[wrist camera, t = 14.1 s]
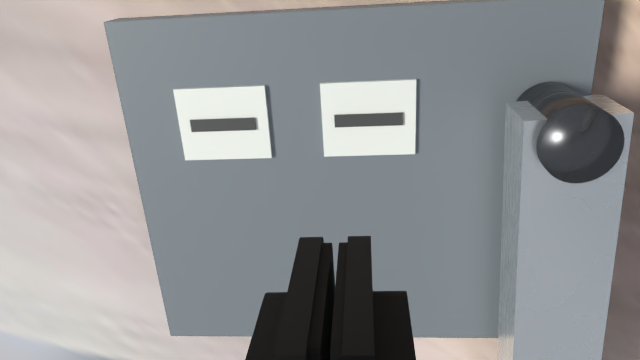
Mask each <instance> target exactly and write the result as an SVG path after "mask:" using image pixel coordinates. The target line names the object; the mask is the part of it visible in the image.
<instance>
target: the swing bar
mask: <svg viewBox="0 0 640 360" xmlns="http://www.w3.org/2000/svg"><path fill="white" fill-rule="evenodd" d="M633 118H634V112H632V111H630V110H629V109H627V108H625V107H624V106H622V105H620V104H618V103H617V102H615V101H613V100H612V99H610V98H608V97H606V96H605V95H603V94H602V95H590V96H582V95H580V94H578V93H577V92H575V91H574V90H572V89H571V88H569V87H567V86H566V85H564V84H561V83H558V82H542V83H539V84H536V85H533V86H532V87H530V88H528V89H527V90H525V91H524V92H523V93H522V94H521V95H520V96H519V97H518V99H517V100H516V102H506V114H505V145H504V175H503V205H502V236H501V266H500V296H499V327H498V357H497V360H602V352H603V345H604V337H605V330H606V322H607V314H608V307H609V299H610V292H611V284H612V277H613V269H614V262H615V254H616V247H617V239H618V231H619V224H620V216H621V209H622V201H623V194H624V186H625V179H626V171H627V164H628V156H629V148H630V141H631V133H632V126H633Z"/></svg>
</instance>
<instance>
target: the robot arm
mask: <svg viewBox="0 0 640 360" xmlns="http://www.w3.org/2000/svg"><path fill="white" fill-rule="evenodd" d="M246 360H416V356H415V349H414V341H413V334H412V326H411V319H410V311H409V304H408V296H407V292H406V291H373V286H372V255H371V236H348V242H339V248H338V260H337V272H336V284H335V276H334V261H333V246H332V243H324V239H323V237H300V238H299V242H298V246H297V251H296V255H295V260H294V264H293V269H292V273H291V278H290V282H289V286H288V291H287V292H267V293H265V295H264V298H263V301H262V305H261V308H260V311H259V315H258V318H257V322H256V325H255V329H254V332H253V336H252V339H251V342H250V346H249V349H248V353H247V356H246Z"/></svg>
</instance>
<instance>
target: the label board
mask: <svg viewBox="0 0 640 360" xmlns="http://www.w3.org/2000/svg"><path fill="white" fill-rule="evenodd" d="M604 3H605V0H450V1H432V2H414V3H395V4H377V5H358V6H340V7H322V8H303V9H285V10H267V11H248V12H230V13H211V14H193V15H175V16H156V17H138V18H119V19H114V20H110V21H107V22H104V26H105V31H106V36H107V40H108V45H109V50H110V54H111V59H112V64H113V68H114V73H115V78H116V82H117V87H118V92H119V96H120V101H121V106H122V110H123V115H124V120H125V124H126V129H127V134H128V138H129V143H130V148H131V152H132V157H133V162H134V166H135V171H136V176H137V180H138V185H139V190H140V194H141V199H142V204H143V208H144V213H145V218H146V222H147V227H148V232H149V236H150V241H151V246H152V250H153V255H154V260H155V264H156V269H157V274H158V278H159V283H160V288H161V293H162V297H163V302H164V307H165V311H166V316H167V321H168V325H169V330H170V335H171V336H253V332H254V329H255V325H256V322H257V318H258V315H259V311H260V308H261V305H262V301H263V298H264V295H265V293H267V292H287V291H288V286H289V282H290V278H291V273H292V269H293V264H294V260H295V255H296V251H297V246H298V242H299V238H300V237H323V239H324V243H332V246H333V261H334V276H335V284H336V272H337V260H338V248H339V242H348V236H371V255H372V286H373V291H406V292H407V296H408V304H409V311H410V319H411V326H412V334H413V337H439V338H498V327H499V296H500V266H501V236H502V205H503V175H504V145H505V114H506V102H516V100H517V99H518V97H519V96H520V95H521V94H522V93H523V92H524V91H525V90H527V89H528V88H530V87H532V86H533V85H536V84H539V83H542V82H558V83H561V84H564V85H566V86H567V87H569V88H571V89H572V90H574V91H575V92H577V93H578V94H580V95H582V96H590V95H591V90H592V83H593V77H594V70H595V63H596V56H597V50H598V43H599V36H600V30H601V23H602V16H603V10H604Z"/></svg>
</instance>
